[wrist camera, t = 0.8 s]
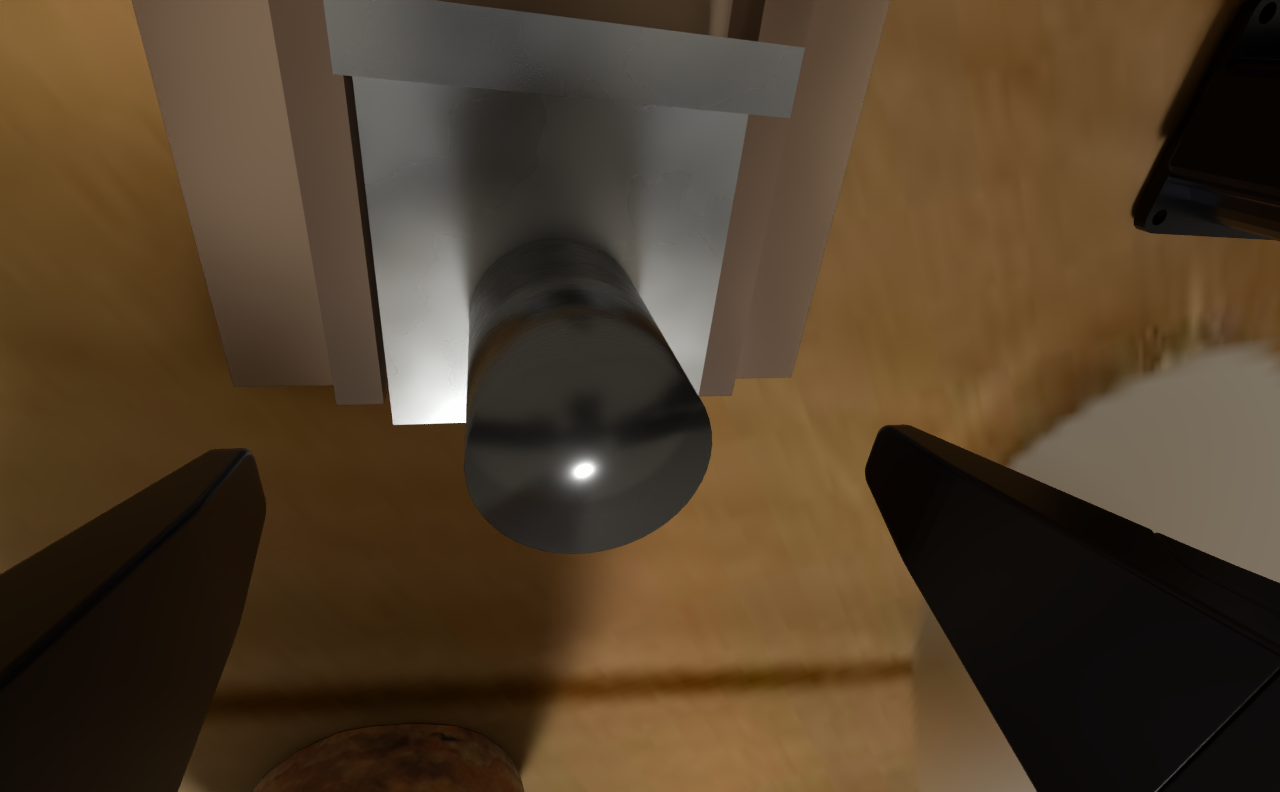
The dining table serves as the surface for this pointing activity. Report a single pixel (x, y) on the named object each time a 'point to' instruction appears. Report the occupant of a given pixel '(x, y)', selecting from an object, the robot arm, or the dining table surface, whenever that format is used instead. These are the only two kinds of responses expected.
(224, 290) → the press bed
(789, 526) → the dining table surface
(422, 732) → the potted plant
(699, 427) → the metal press slider
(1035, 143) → the dining table surface
